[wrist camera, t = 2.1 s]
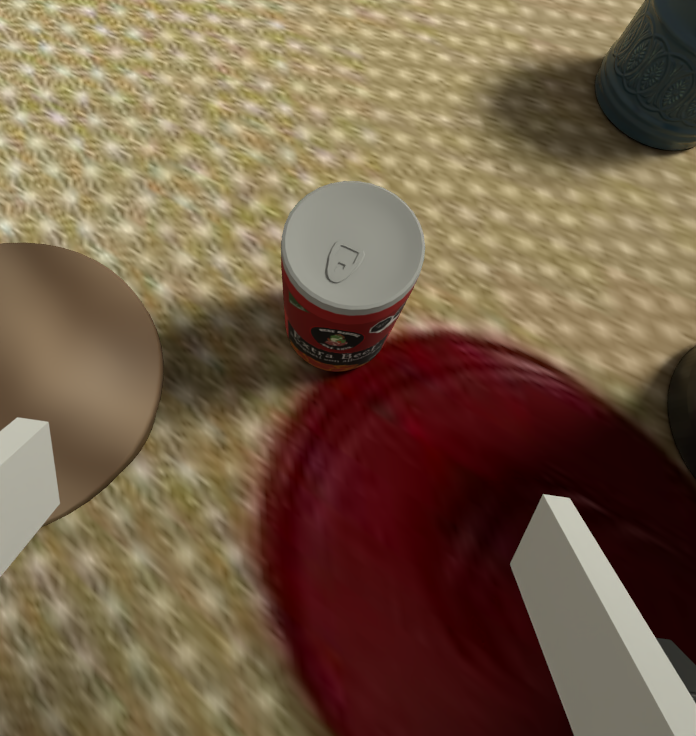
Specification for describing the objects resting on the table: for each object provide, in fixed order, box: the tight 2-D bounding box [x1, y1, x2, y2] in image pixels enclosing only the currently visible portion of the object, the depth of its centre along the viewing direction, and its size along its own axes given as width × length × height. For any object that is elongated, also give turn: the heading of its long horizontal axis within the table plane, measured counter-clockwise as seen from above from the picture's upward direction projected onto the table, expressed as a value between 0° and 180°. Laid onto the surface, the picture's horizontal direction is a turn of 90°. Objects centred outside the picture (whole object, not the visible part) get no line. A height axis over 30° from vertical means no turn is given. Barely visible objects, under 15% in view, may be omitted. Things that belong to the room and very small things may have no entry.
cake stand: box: [0, 243, 164, 527], centre depth 27 cm, size 16×16×7 cm
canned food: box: [281, 181, 425, 372], centre depth 29 cm, size 8×8×11 cm
